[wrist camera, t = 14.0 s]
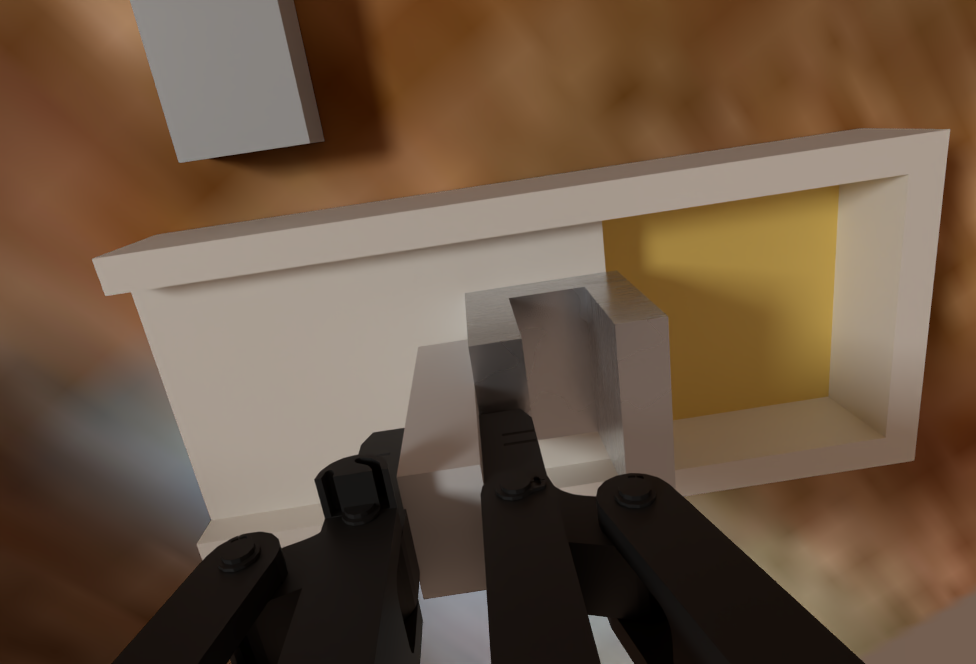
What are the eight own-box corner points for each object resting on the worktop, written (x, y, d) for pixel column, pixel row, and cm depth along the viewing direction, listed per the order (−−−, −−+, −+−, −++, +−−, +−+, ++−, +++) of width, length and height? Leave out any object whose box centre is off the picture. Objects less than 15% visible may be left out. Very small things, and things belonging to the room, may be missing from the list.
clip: (486, 428, 19) (495, 515, 15) (464, 293, 18) (468, 346, 13) (626, 407, 19) (675, 488, 15) (616, 270, 18) (668, 316, 13)
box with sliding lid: (243, 502, 22) (205, 570, 19) (156, 234, 19) (91, 259, 16) (844, 409, 22) (914, 460, 19) (861, 128, 19) (950, 129, 16)
